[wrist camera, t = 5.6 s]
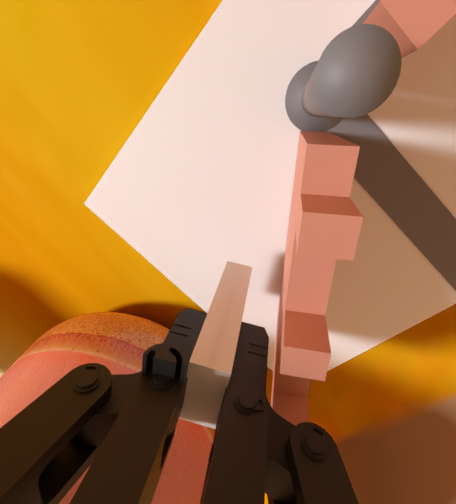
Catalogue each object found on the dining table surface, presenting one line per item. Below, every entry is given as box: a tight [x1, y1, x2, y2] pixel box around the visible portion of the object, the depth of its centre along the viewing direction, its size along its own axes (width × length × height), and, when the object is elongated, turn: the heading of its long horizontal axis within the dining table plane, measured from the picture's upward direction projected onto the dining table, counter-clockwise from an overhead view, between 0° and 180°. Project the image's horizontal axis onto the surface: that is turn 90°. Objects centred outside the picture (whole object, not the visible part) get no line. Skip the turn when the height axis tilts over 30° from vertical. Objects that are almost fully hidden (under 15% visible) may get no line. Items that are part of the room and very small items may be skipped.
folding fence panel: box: [271, 131, 363, 426], centre depth 12 cm, size 11×1×9 cm, turn 179°
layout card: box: [84, 0, 456, 371], centre depth 14 cm, size 23×18×1 cm
